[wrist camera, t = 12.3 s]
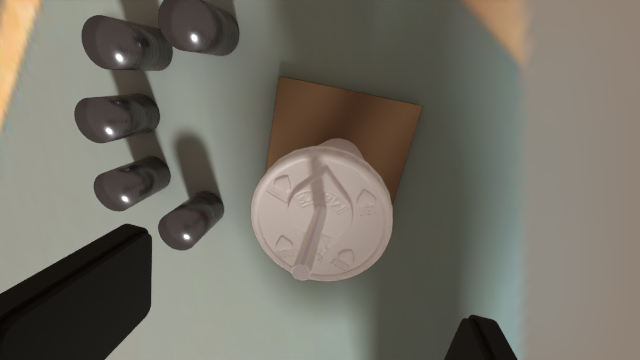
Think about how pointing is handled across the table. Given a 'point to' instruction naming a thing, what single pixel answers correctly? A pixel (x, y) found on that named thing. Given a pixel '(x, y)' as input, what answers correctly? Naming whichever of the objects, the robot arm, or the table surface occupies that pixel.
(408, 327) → the table surface
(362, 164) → the smoothie
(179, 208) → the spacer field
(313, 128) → the walnut pad
